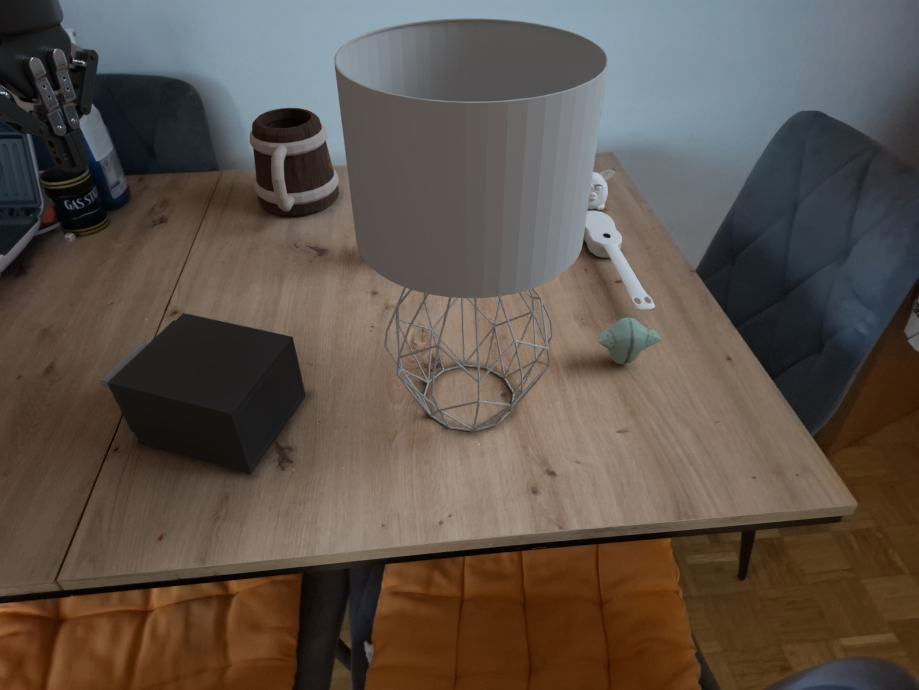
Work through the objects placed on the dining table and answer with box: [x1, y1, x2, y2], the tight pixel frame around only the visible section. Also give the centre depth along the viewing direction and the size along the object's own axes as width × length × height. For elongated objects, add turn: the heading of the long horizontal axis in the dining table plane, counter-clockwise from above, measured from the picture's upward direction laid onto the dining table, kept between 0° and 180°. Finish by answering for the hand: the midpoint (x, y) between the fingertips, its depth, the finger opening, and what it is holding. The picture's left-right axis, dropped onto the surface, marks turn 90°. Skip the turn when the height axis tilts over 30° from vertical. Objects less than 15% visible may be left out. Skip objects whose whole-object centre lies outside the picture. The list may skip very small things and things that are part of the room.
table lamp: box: [333, 17, 610, 432], centre depth 65 cm, size 22×22×40 cm
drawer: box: [99, 319, 176, 433], centre depth 73 cm, size 18×11×8 cm, turn 72°
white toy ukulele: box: [583, 210, 656, 311], centre depth 99 cm, size 28×6×3 cm, turn 7°
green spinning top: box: [598, 317, 663, 365], centre depth 81 cm, size 8×4×7 cm, turn 93°
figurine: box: [587, 169, 615, 212], centre depth 114 cm, size 8×6×7 cm
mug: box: [249, 107, 340, 217], centre depth 111 cm, size 20×15×15 cm
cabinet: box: [110, 312, 307, 475], centre depth 72 cm, size 15×13×10 cm
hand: (75, 169), depth 61 cm, fingers closed
